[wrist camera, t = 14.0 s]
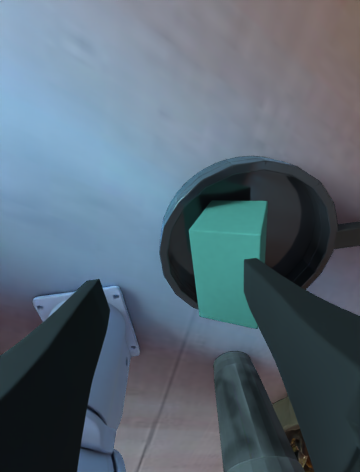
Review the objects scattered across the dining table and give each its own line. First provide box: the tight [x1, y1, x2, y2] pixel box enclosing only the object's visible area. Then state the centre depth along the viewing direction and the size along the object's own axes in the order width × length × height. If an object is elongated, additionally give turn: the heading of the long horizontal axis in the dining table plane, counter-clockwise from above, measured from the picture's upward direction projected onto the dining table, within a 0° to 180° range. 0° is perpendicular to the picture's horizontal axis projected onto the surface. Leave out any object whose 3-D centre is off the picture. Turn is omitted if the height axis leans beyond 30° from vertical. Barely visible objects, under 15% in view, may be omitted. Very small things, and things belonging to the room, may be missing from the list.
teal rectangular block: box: [189, 200, 268, 329], centre depth 16 cm, size 7×4×5 cm, turn 8°
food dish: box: [273, 396, 314, 472], centre depth 34 cm, size 35×33×8 cm
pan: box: [159, 156, 338, 310], centre depth 18 cm, size 13×13×2 cm
